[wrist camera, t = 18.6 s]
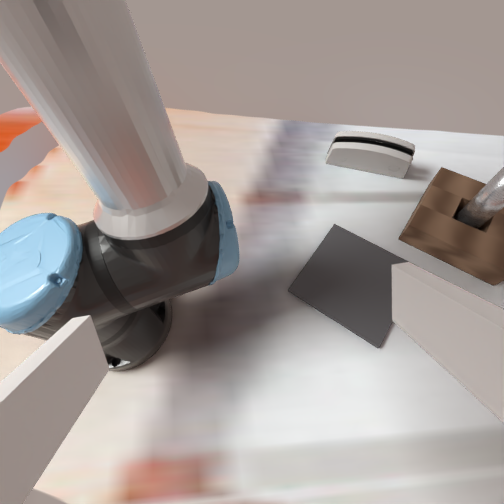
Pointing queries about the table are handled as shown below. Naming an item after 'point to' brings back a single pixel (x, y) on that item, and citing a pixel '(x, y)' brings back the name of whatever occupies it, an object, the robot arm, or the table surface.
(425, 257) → the table surface
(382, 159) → the napkin holder
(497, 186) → the pin
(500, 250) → the socket block
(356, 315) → the mat
